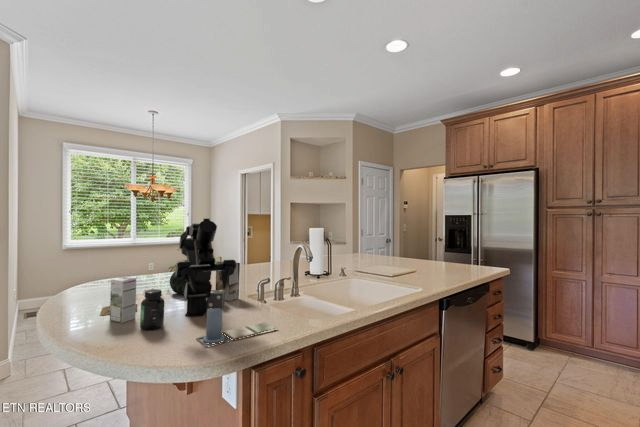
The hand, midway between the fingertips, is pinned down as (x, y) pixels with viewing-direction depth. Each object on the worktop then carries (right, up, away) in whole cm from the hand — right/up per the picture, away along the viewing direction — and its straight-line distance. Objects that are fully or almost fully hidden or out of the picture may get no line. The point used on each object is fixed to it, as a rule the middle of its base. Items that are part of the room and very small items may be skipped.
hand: (210, 290), depth 103 cm
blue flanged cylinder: (+3, -13, -7) cm, 15 cm away
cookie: (-42, -13, +20) cm, 48 cm away
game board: (+10, -14, -1) cm, 17 cm away
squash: (-27, -14, +49) cm, 58 cm away
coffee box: (-7, -14, +42) cm, 45 cm away
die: (-7, -14, +29) cm, 33 cm away
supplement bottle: (-20, -13, +2) cm, 24 cm away
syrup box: (-34, -13, +9) cm, 37 cm away
